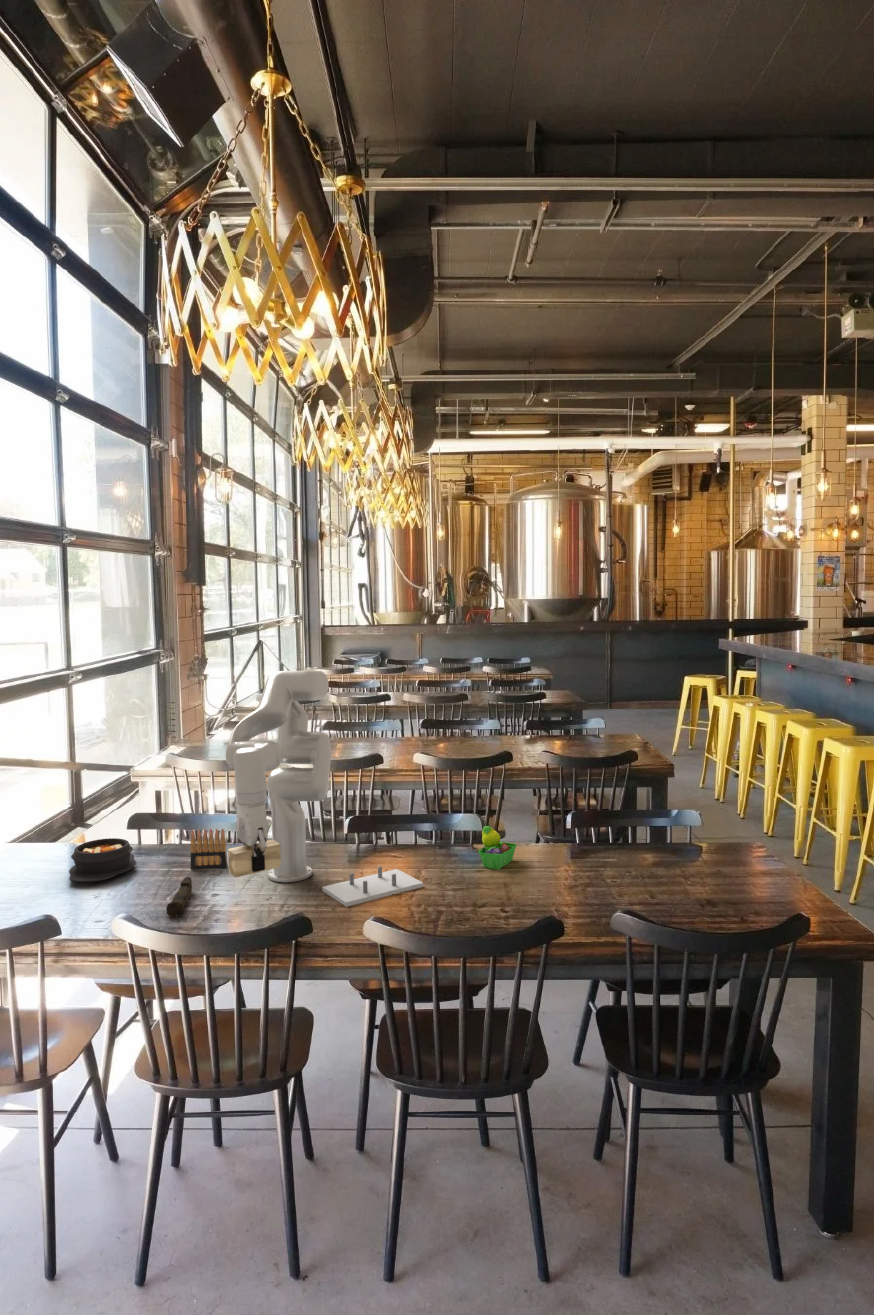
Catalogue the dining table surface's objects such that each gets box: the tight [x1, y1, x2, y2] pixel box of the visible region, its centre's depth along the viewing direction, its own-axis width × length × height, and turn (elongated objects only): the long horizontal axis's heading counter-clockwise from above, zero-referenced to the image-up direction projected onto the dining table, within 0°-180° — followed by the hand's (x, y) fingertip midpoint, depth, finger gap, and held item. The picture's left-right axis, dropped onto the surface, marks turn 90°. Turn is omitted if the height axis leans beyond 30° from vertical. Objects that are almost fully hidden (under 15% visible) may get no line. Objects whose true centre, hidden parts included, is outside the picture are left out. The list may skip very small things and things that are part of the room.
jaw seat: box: [321, 865, 424, 908], centre depth 224 cm, size 14×24×4 cm, turn 124°
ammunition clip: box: [190, 828, 229, 871], centre depth 244 cm, size 11×2×12 cm, turn 93°
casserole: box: [68, 837, 137, 883], centre depth 241 cm, size 25×19×8 cm
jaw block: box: [227, 839, 281, 878], centre depth 205 cm, size 4×12×6 cm, turn 124°
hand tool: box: [166, 876, 193, 917], centre depth 217 cm, size 19×4×5 cm, turn 3°
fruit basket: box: [477, 825, 517, 870], centre depth 243 cm, size 11×9×11 cm
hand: (254, 866), depth 205 cm, fingers closed on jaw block, 4 cm apart
